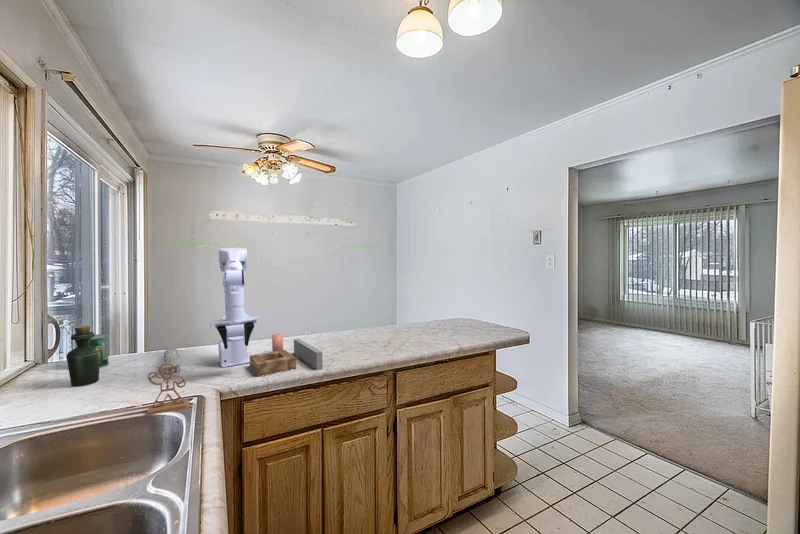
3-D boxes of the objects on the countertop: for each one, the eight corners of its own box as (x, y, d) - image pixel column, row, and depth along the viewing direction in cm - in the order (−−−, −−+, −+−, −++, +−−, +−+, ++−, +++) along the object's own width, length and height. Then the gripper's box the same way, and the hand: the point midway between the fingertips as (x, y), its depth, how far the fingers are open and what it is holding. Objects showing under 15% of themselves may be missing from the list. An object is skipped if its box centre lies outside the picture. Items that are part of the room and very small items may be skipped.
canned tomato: (107, 361, 133) (106, 333, 133) (109, 366, 128) (108, 336, 127) (79, 366, 128) (78, 336, 127) (80, 371, 122) (78, 340, 122)
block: (258, 376, 114) (258, 364, 114) (249, 366, 124) (249, 355, 124) (296, 368, 121) (295, 357, 121) (285, 360, 131) (285, 349, 131)
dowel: (274, 357, 135) (273, 336, 135) (271, 354, 139) (270, 334, 138) (284, 355, 138) (283, 335, 137) (281, 353, 141) (280, 333, 141)
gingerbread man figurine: (189, 402, 94) (187, 358, 94) (187, 408, 91) (185, 362, 90) (149, 409, 91) (147, 363, 90) (146, 415, 87) (144, 368, 87)
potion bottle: (108, 379, 114) (106, 324, 113) (80, 388, 106) (77, 329, 105) (89, 377, 115) (86, 323, 115) (60, 386, 108) (57, 329, 107)
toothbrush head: (178, 346, 140) (180, 351, 119) (179, 363, 139) (181, 371, 119) (162, 348, 137) (162, 354, 116) (163, 365, 136) (163, 374, 116)
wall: (317, 370, 119) (316, 352, 119) (294, 354, 139) (293, 339, 139) (322, 368, 120) (322, 351, 120) (299, 353, 140) (298, 338, 140)
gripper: (211, 309, 108) (213, 353, 108) (260, 305, 116) (262, 345, 116) (208, 307, 113) (210, 348, 114) (255, 302, 122) (257, 341, 122)
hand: (236, 346), depth 115 cm, fingers open, 6 cm apart
